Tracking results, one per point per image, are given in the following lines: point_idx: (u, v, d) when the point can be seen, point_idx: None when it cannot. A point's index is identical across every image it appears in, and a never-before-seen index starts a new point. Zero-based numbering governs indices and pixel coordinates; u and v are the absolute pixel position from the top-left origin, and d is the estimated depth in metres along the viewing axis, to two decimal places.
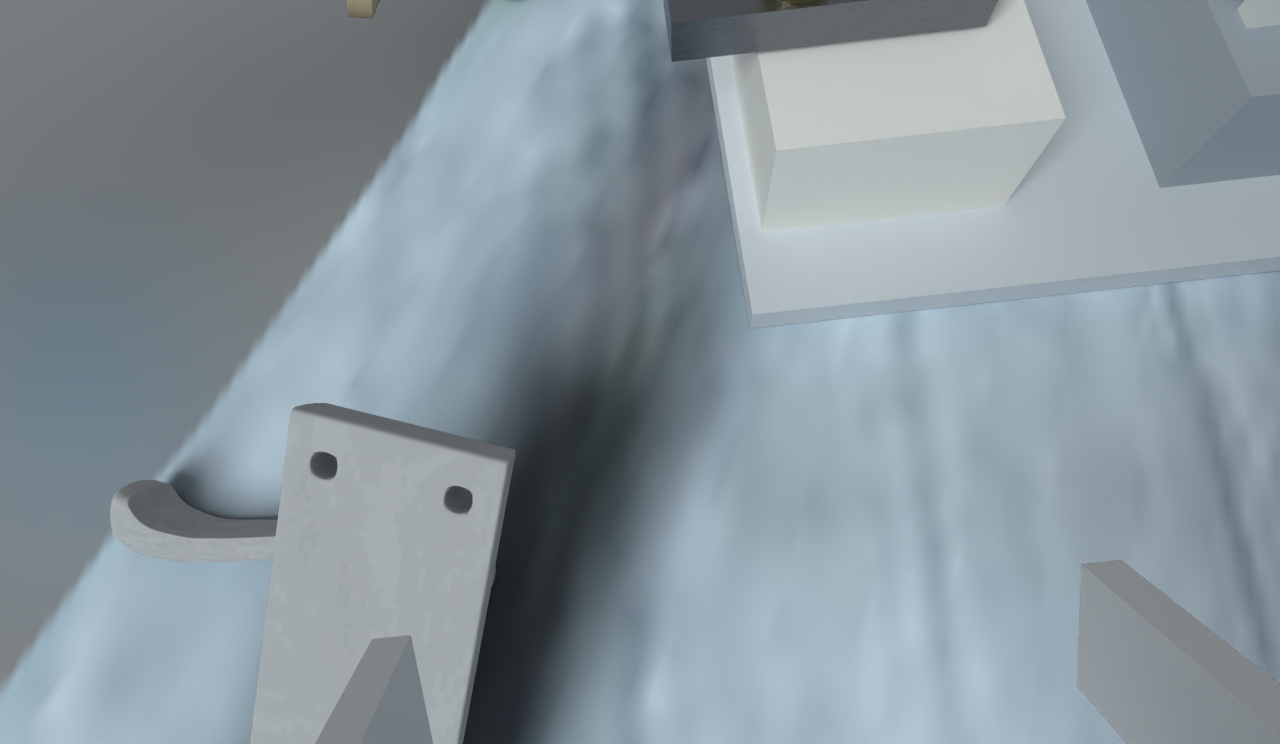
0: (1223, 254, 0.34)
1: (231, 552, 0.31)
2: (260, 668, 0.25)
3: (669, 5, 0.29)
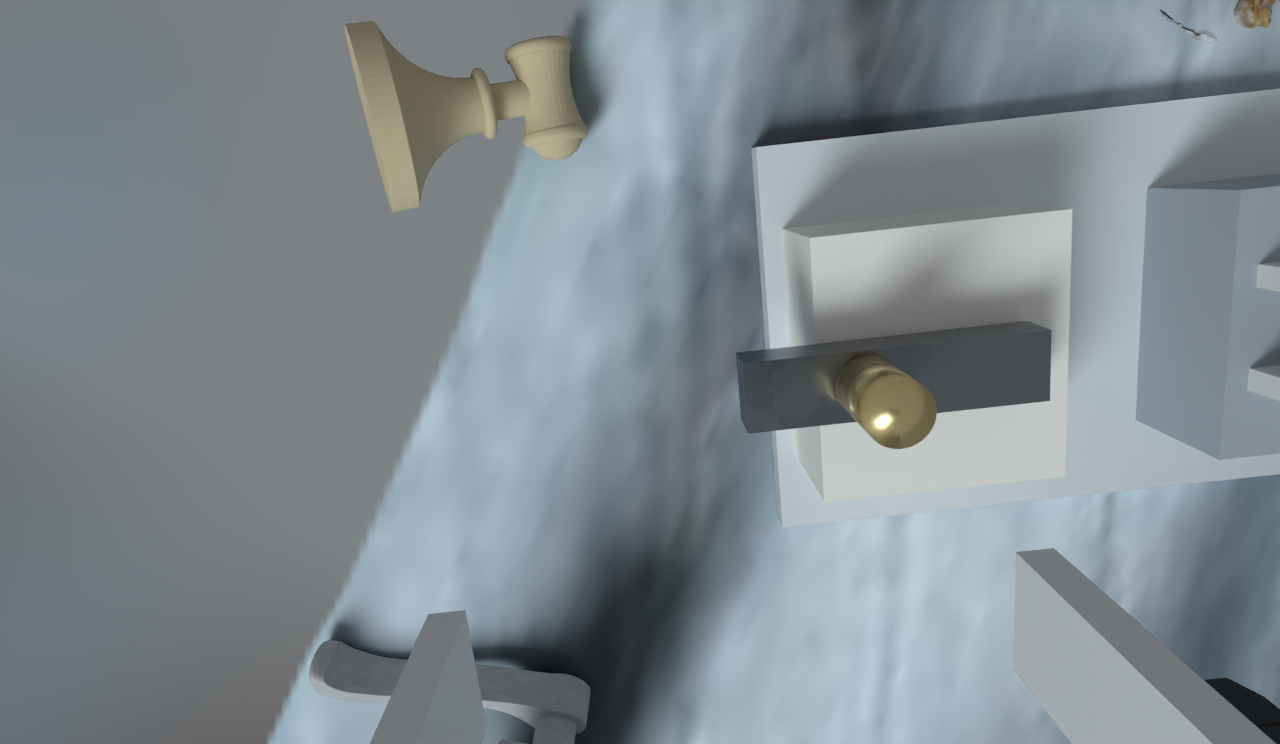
0: (1160, 480, 0.42)
1: None
2: None
3: (747, 413, 0.32)
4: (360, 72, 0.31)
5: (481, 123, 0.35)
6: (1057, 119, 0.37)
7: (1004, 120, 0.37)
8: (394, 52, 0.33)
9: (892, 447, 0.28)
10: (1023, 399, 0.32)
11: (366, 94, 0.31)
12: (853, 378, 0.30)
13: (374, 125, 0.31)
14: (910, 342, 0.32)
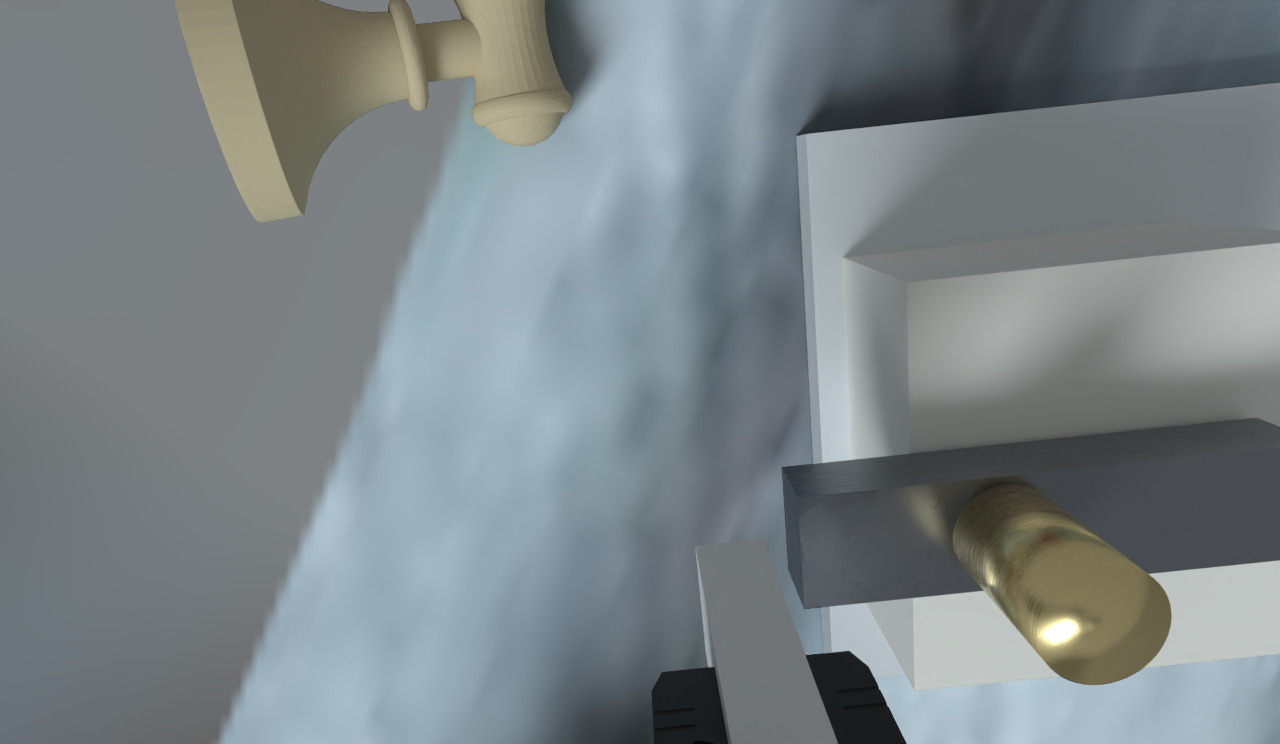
0: None
1: None
2: None
3: (803, 576, 0.19)
4: None
5: (402, 84, 0.22)
6: (1267, 93, 0.24)
7: (1186, 94, 0.24)
8: None
9: (1085, 682, 0.15)
10: (1265, 556, 0.19)
11: (182, 23, 0.18)
12: (996, 536, 0.17)
13: (198, 77, 0.18)
14: (1078, 460, 0.19)
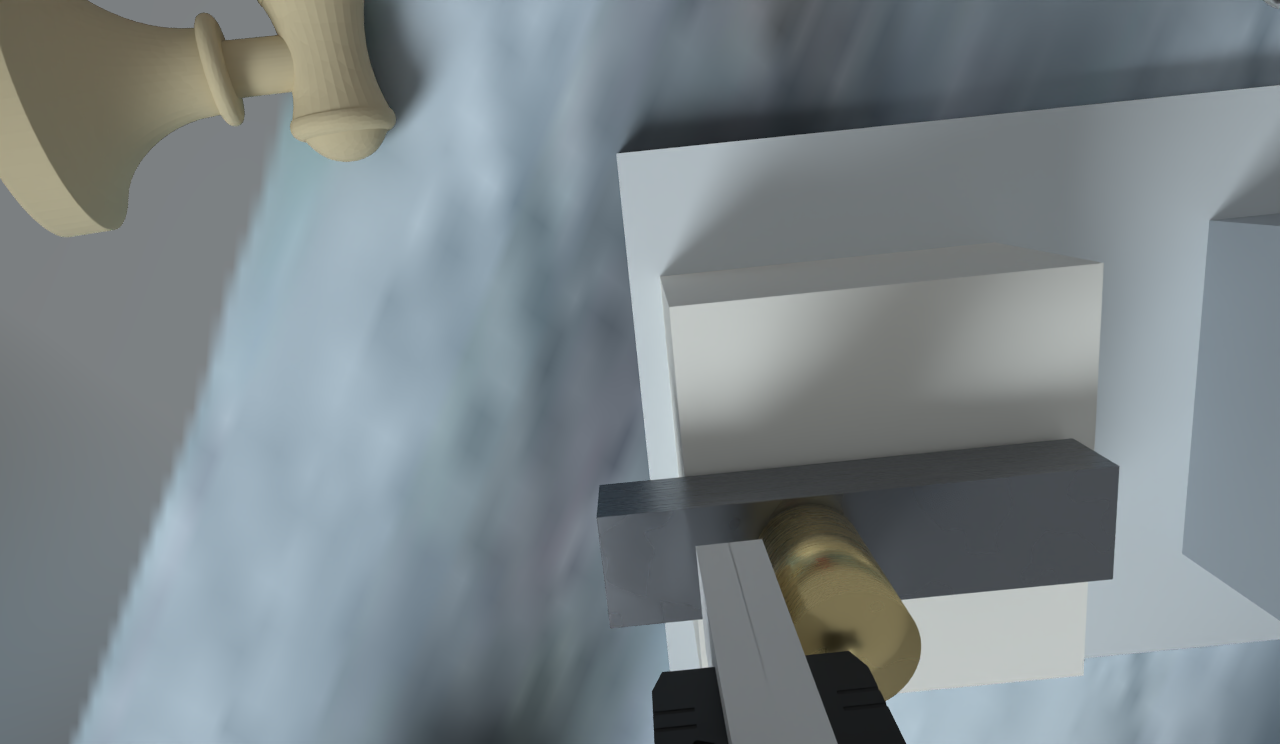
0: (1216, 636, 0.29)
1: None
2: None
3: (607, 596, 0.19)
4: None
5: (208, 101, 0.22)
6: (1076, 115, 0.24)
7: (995, 116, 0.24)
8: None
9: None
10: (1069, 577, 0.19)
11: None
12: (777, 558, 0.17)
13: None
14: (881, 481, 0.19)
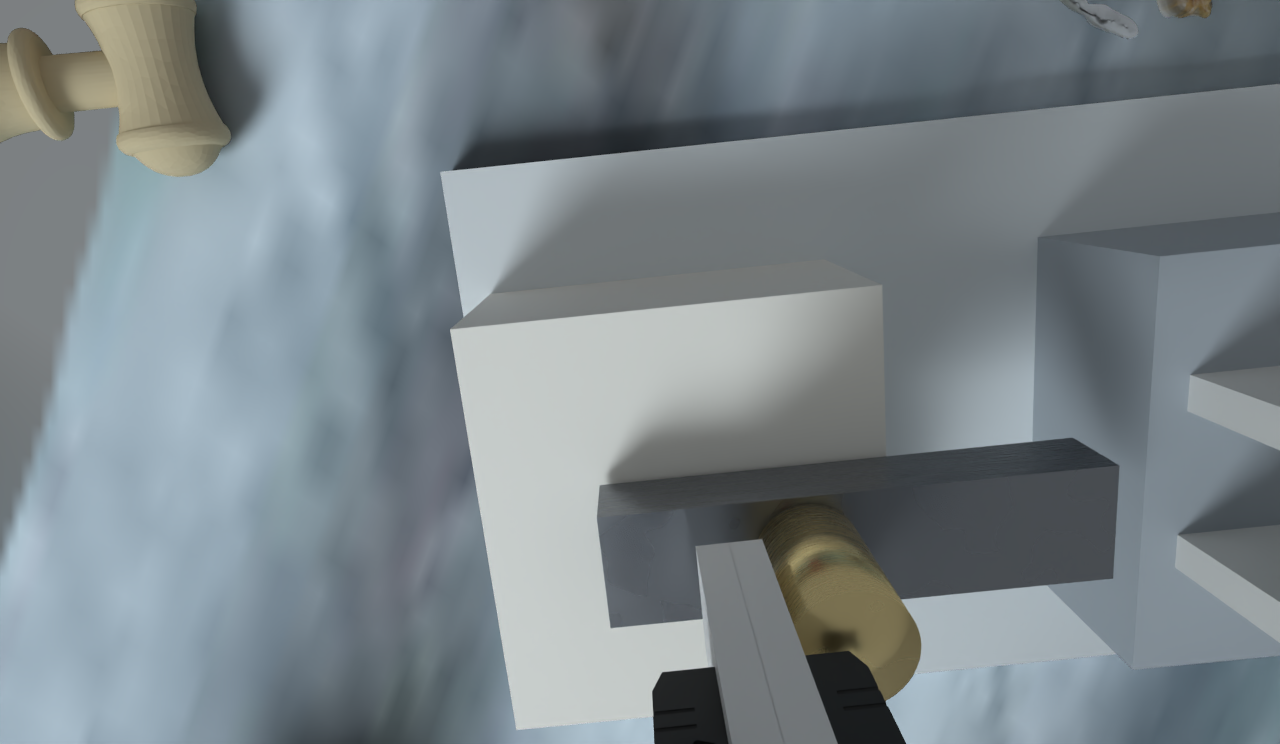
0: (1067, 649, 0.29)
1: None
2: None
3: (608, 596, 0.19)
4: None
5: (24, 116, 0.22)
6: (899, 133, 0.24)
7: (817, 134, 0.24)
8: None
9: None
10: (1069, 576, 0.19)
11: None
12: (778, 558, 0.17)
13: None
14: (881, 480, 0.19)
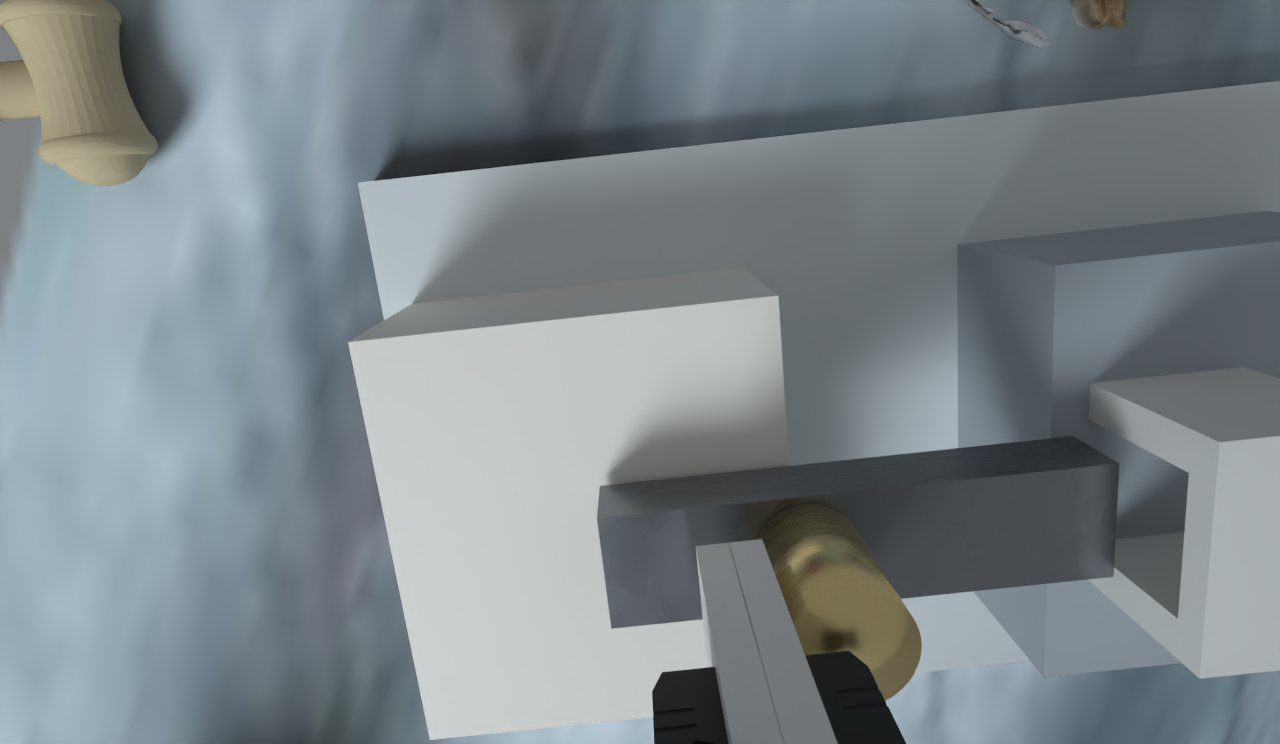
0: (1000, 655, 0.29)
1: None
2: None
3: (608, 596, 0.19)
4: None
5: None
6: (815, 141, 0.24)
7: (733, 142, 0.24)
8: None
9: None
10: (1070, 575, 0.19)
11: None
12: (778, 558, 0.17)
13: None
14: (881, 480, 0.19)
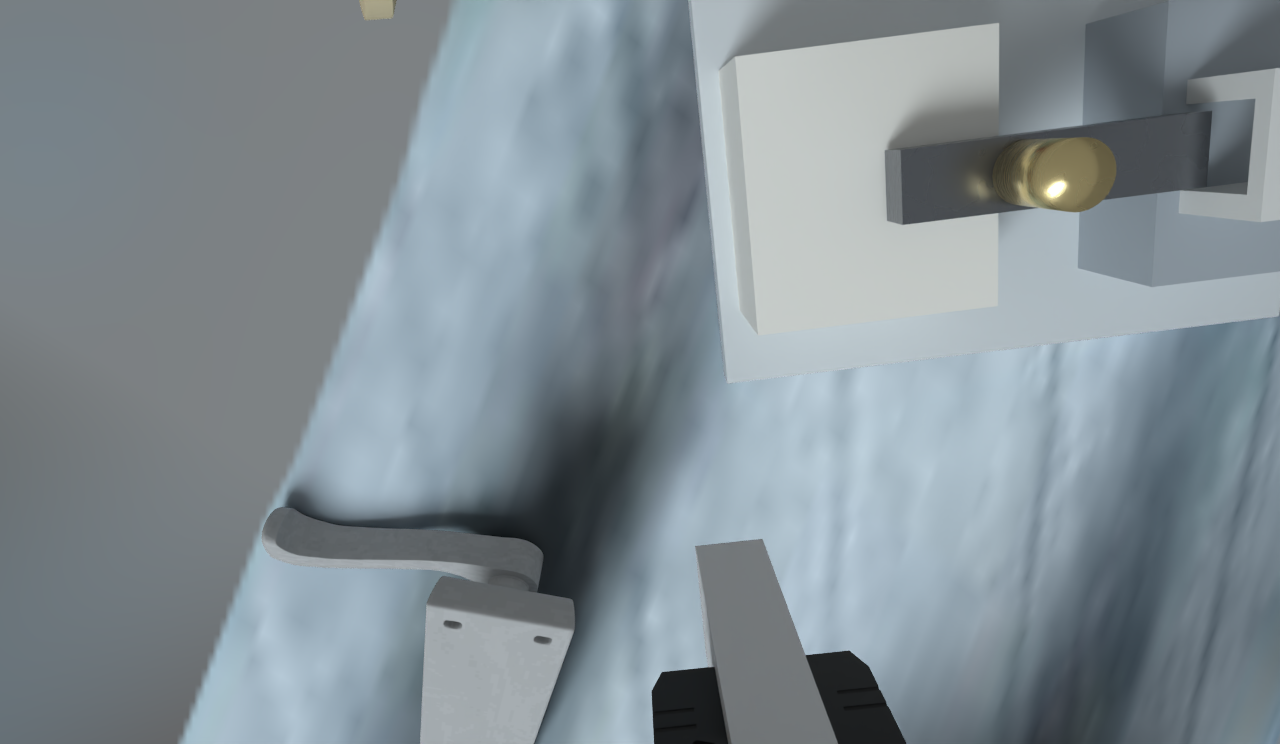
0: (1104, 330, 0.42)
1: (360, 565, 0.44)
2: (424, 680, 0.41)
3: (902, 203, 0.32)
4: None
5: None
6: None
7: None
8: None
9: (1069, 210, 0.28)
10: (1180, 186, 0.32)
11: None
12: (1019, 154, 0.30)
13: None
14: (1067, 128, 0.32)
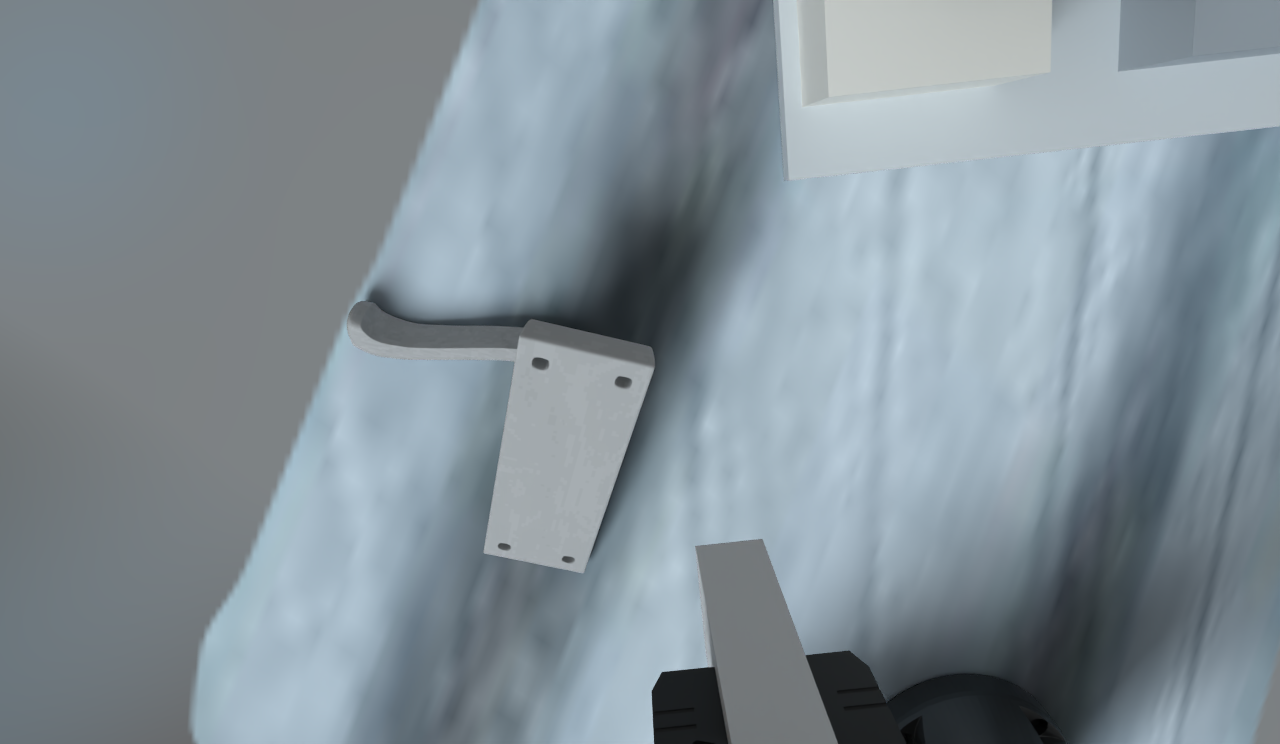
0: (1141, 134, 0.45)
1: (437, 355, 0.47)
2: (502, 447, 0.43)
3: None
4: None
5: None
6: None
7: None
8: None
9: None
10: None
11: None
12: None
13: None
14: None
